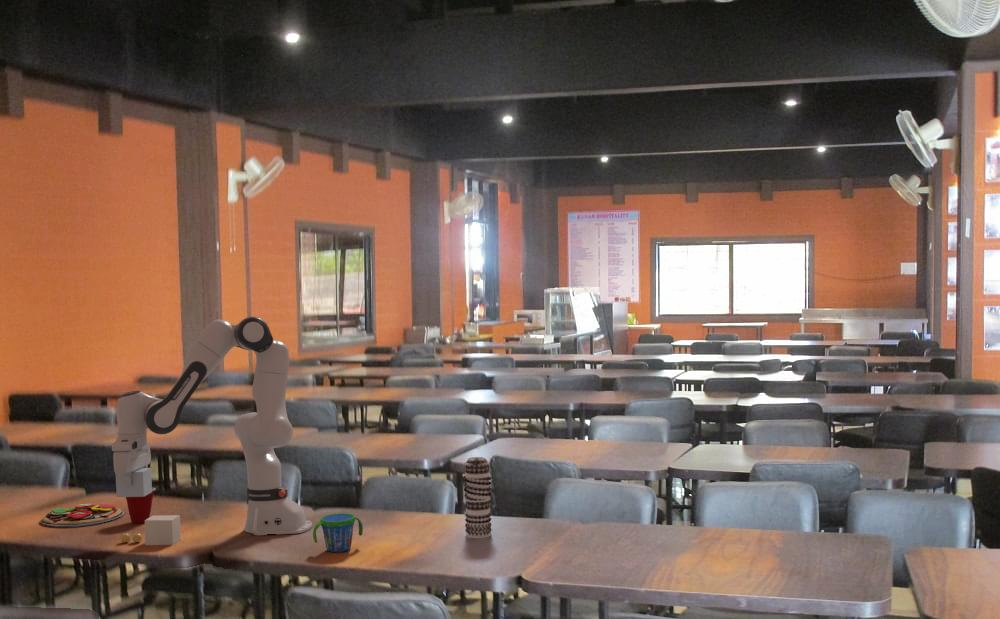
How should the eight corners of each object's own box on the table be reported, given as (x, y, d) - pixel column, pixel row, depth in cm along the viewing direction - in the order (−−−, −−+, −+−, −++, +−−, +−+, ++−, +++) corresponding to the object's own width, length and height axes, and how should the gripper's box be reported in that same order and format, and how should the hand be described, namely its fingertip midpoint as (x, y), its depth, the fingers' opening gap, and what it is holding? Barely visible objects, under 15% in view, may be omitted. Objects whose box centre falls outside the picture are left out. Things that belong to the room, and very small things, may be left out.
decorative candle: (474, 540, 311) (472, 462, 310) (459, 534, 318) (457, 457, 318) (498, 535, 316) (496, 458, 315) (482, 529, 323) (481, 454, 323)
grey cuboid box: (180, 539, 319) (179, 515, 318) (172, 545, 312) (172, 520, 312) (153, 539, 319) (153, 515, 319) (145, 545, 313) (144, 520, 313)
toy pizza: (78, 532, 333) (78, 519, 333) (22, 525, 345) (22, 512, 345) (140, 514, 358) (140, 502, 358) (86, 508, 370) (86, 496, 370)
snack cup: (317, 557, 295) (316, 523, 295) (309, 548, 305) (308, 516, 304) (367, 550, 301) (367, 517, 301) (358, 542, 311) (357, 510, 310)
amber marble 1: (132, 541, 318) (132, 532, 318) (128, 543, 315) (128, 534, 315) (123, 541, 318) (123, 532, 318) (119, 543, 315) (119, 534, 315)
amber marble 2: (143, 541, 318) (143, 532, 318) (139, 543, 315) (139, 534, 315) (134, 541, 318) (134, 532, 318) (130, 543, 315) (130, 534, 315)
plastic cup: (162, 518, 349) (161, 484, 348) (148, 525, 338) (147, 491, 338) (133, 518, 350) (132, 484, 350) (118, 525, 339) (117, 491, 339)
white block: (152, 492, 321) (151, 467, 321) (143, 496, 315) (142, 471, 314) (125, 492, 322) (124, 468, 321) (116, 496, 315) (115, 472, 315)
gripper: (136, 436, 328) (138, 477, 329) (108, 446, 308) (110, 490, 308) (155, 435, 328) (156, 476, 328) (128, 446, 307) (130, 490, 308)
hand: (134, 483), depth 318 cm, fingers closed on white block, 6 cm apart
